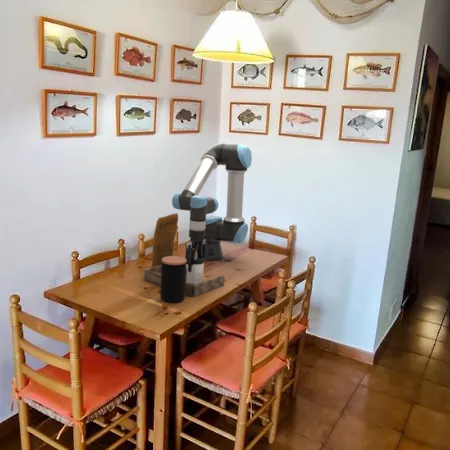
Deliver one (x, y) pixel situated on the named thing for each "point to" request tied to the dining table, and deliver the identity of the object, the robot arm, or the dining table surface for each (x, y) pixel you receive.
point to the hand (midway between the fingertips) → (194, 276)
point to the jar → (196, 271)
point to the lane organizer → (191, 290)
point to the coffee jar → (173, 279)
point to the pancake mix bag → (164, 238)
